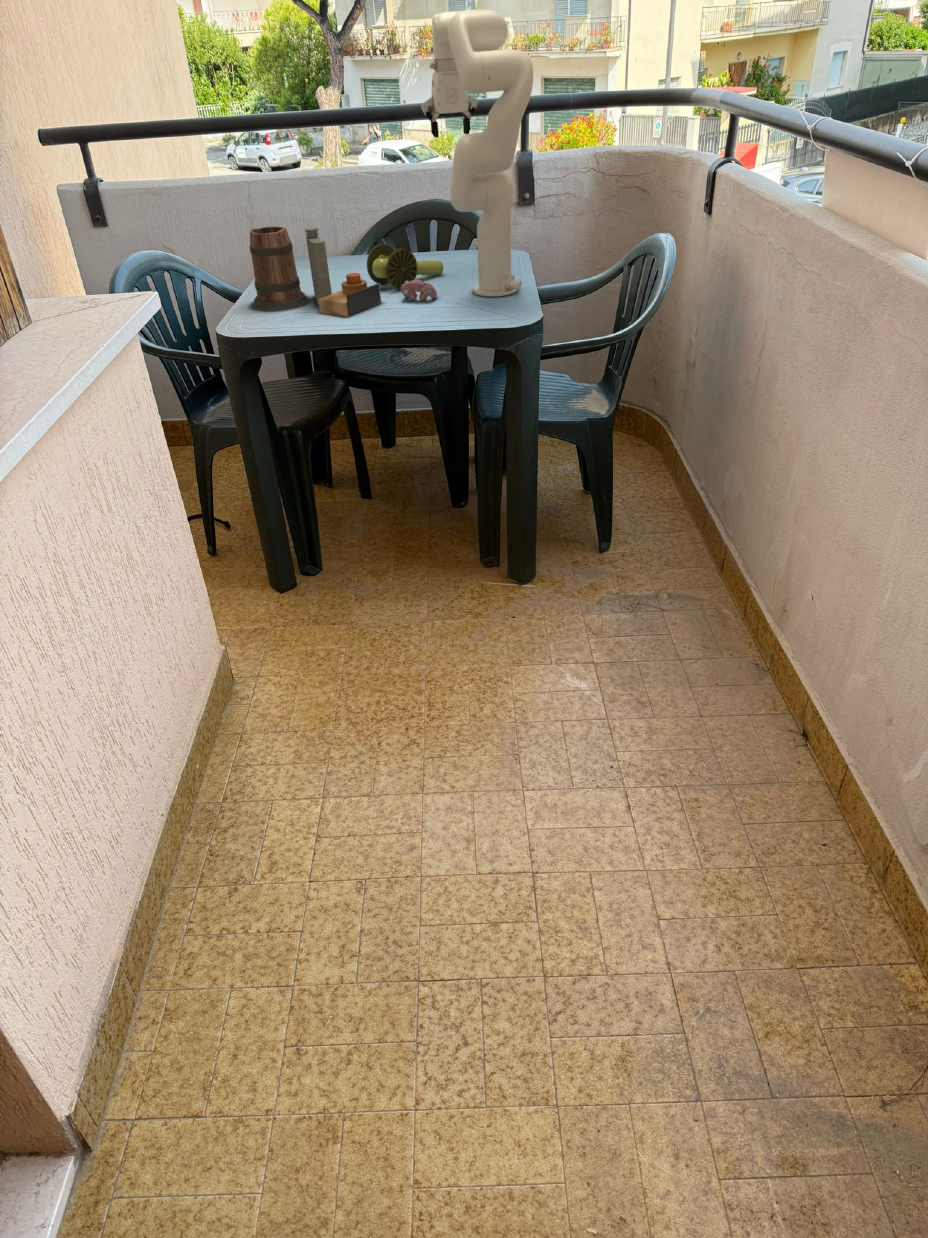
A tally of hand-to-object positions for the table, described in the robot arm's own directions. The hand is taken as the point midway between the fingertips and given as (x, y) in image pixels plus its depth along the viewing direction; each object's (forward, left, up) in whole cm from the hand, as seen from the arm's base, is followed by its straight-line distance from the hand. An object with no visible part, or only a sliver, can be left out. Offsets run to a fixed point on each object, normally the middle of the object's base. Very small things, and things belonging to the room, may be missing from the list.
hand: (451, 135), depth 248 cm
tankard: (+26, +53, -37) cm, 70 cm away
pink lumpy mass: (-12, +35, -38) cm, 53 cm away
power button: (+2, +47, -32) cm, 57 cm away
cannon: (+3, +21, -37) cm, 43 cm away
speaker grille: (-4, +50, -37) cm, 63 cm away
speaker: (+1, +50, -37) cm, 63 cm away
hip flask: (+13, +49, -37) cm, 63 cm away
